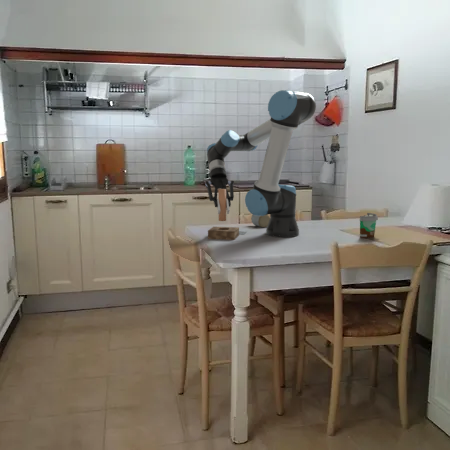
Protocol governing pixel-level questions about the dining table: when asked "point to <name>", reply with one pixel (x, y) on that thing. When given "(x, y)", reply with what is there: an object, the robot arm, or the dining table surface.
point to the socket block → (223, 233)
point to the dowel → (222, 204)
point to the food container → (368, 225)
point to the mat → (242, 233)
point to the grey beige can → (260, 220)
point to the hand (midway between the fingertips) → (223, 212)
